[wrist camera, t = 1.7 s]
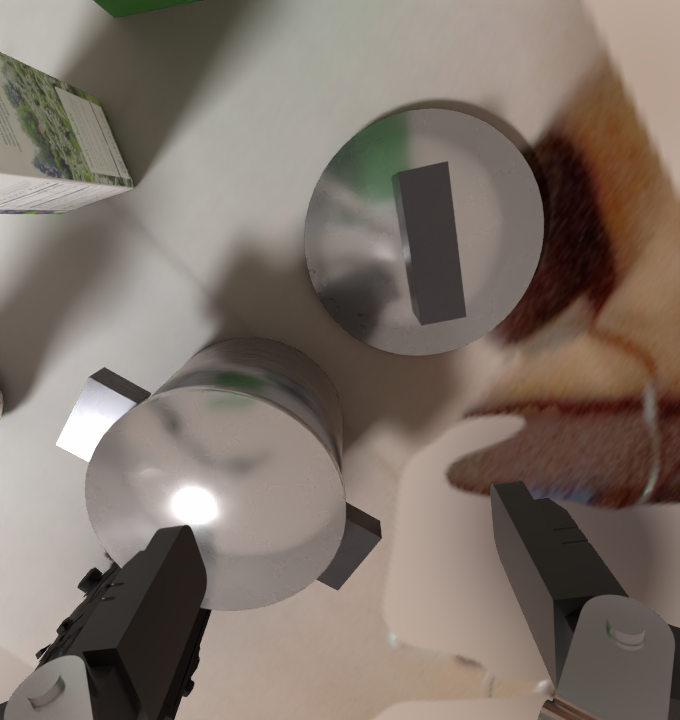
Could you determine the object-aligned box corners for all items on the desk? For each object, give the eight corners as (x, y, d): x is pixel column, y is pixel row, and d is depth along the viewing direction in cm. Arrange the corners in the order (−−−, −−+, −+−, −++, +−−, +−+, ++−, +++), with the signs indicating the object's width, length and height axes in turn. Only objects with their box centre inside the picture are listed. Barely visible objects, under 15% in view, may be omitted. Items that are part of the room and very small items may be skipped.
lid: (280, 143, 29) (267, 131, 24) (528, 85, 28) (567, 59, 23) (332, 368, 34) (329, 395, 29) (543, 328, 33) (577, 349, 28)
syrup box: (20, 126, 29) (-282, 48, 15) (103, 95, 28) (-135, -15, 14) (63, 214, 30) (-173, 219, 17) (141, 188, 30) (-38, 169, 16)
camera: (63, 590, 41) (-182, 917, 22) (154, 507, 38) (-41, 807, 19) (147, 648, 43) (-10, 991, 24) (240, 575, 40) (142, 904, 21)
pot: (106, 430, 36) (6, 521, 25) (187, 278, 32) (107, 311, 21) (310, 539, 39) (296, 660, 28) (408, 413, 35) (433, 500, 24)
